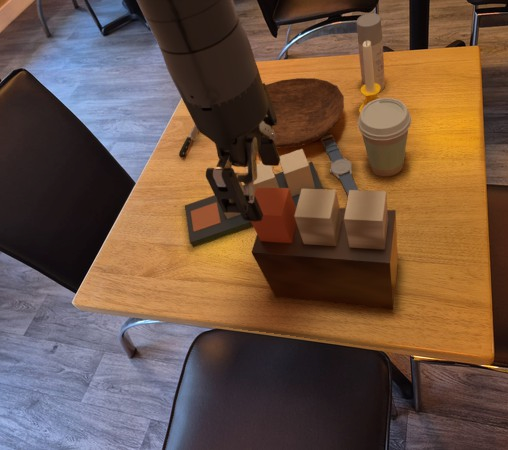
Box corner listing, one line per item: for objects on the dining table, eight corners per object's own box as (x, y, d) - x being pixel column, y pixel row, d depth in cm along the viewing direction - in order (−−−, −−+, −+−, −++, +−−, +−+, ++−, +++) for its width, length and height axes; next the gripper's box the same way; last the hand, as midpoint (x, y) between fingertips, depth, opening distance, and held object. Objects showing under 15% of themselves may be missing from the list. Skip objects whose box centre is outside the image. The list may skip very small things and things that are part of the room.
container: (383, 94, 91) (379, 26, 79) (360, 94, 92) (353, 27, 81) (386, 79, 94) (383, 12, 82) (364, 80, 95) (358, 13, 83)
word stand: (397, 261, 67) (394, 179, 52) (393, 309, 63) (388, 234, 48) (286, 253, 72) (254, 176, 57) (275, 297, 68) (237, 225, 53)
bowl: (255, 98, 99) (249, 80, 95) (352, 94, 93) (349, 74, 89) (231, 162, 88) (223, 144, 84) (340, 162, 82) (336, 143, 78)
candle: (379, 121, 86) (374, 51, 74) (355, 116, 89) (346, 47, 76) (389, 104, 89) (386, 33, 76) (365, 100, 91) (359, 30, 79)
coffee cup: (417, 174, 77) (419, 121, 67) (370, 187, 77) (364, 137, 68) (402, 142, 82) (401, 89, 72) (357, 155, 82) (350, 103, 73)
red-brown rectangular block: (298, 216, 60) (289, 187, 55) (291, 243, 57) (281, 215, 52) (268, 215, 61) (256, 186, 56) (260, 241, 58) (247, 214, 54)
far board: (327, 200, 77) (320, 172, 71) (193, 247, 77) (175, 222, 71) (313, 167, 83) (305, 137, 77) (187, 210, 83) (170, 184, 77)
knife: (206, 113, 99) (203, 106, 98) (209, 113, 99) (206, 106, 97) (182, 160, 91) (178, 154, 90) (185, 160, 91) (181, 154, 89)
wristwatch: (335, 133, 87) (334, 129, 86) (372, 206, 74) (371, 202, 74) (315, 140, 87) (314, 136, 86) (348, 214, 74) (347, 211, 74)
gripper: (204, 33, 45) (250, 147, 58) (150, 130, 37) (217, 237, 50) (274, 28, 43) (305, 147, 56) (232, 129, 35) (279, 241, 48)
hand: (263, 190), depth 53 cm, fingers open, 8 cm apart
